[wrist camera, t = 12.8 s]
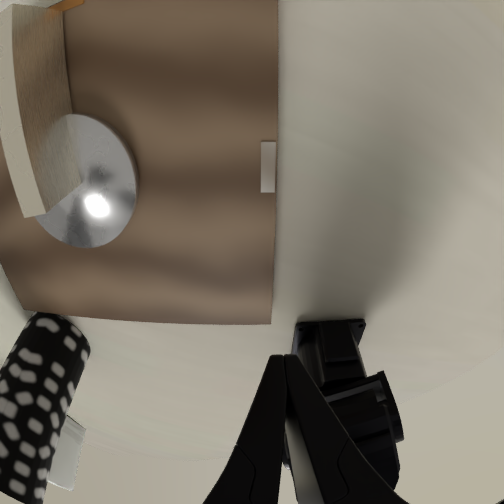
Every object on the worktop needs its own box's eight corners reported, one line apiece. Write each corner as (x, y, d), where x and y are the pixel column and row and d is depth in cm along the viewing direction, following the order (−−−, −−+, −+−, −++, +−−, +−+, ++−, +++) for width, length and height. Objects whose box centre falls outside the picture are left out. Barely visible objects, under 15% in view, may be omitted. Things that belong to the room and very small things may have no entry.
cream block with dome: (153, 235, 18) (129, 283, 14) (51, 246, 19) (18, 286, 15) (114, -11, 9) (70, -32, 5) (4, 45, 10) (-45, 51, 6)
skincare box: (44, 407, 41) (23, 469, 28) (64, 411, 41) (44, 479, 28) (67, 426, 46) (51, 484, 33) (88, 430, 45) (73, 493, 32)
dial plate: (269, 311, 24) (271, 325, 23) (30, 300, 24) (23, 310, 23) (274, -30, 11) (277, -40, 9) (-31, 63, 11) (-44, 65, 9)
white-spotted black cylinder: (104, 352, 28) (56, 517, 12) (67, 363, 30) (23, 497, 14) (50, 301, 24) (-29, 473, 7) (21, 320, 26) (-43, 457, 10)
